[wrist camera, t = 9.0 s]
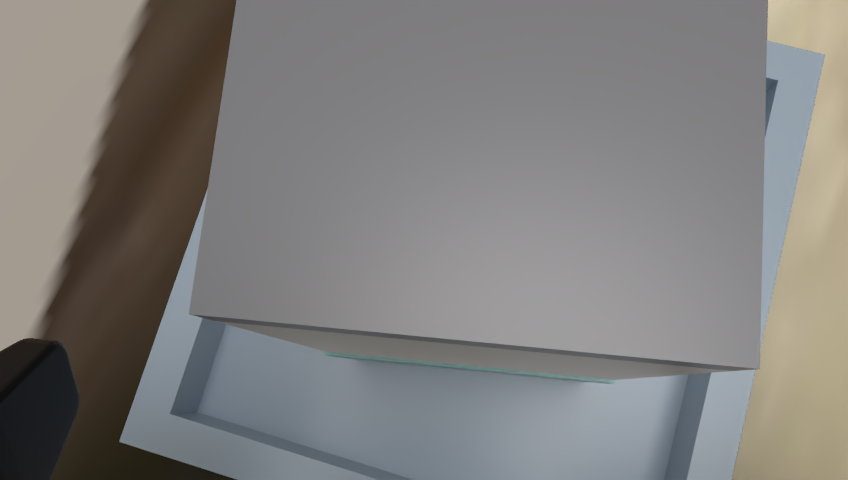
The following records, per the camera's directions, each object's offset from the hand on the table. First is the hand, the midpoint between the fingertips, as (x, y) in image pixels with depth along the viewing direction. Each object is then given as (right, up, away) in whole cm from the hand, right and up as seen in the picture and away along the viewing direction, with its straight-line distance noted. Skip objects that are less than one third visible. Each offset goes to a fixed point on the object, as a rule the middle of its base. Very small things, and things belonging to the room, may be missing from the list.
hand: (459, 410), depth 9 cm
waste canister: (+1, +1, +9) cm, 9 cm away
